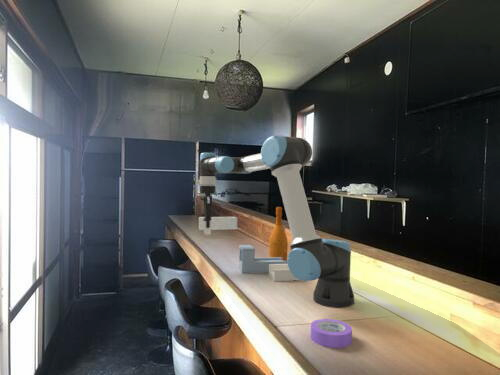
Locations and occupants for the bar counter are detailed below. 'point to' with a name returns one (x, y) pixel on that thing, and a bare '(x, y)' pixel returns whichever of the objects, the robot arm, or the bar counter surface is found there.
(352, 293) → the robot arm
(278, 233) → the wine bottle
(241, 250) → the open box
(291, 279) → the cradle
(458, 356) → the bar counter surface
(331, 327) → the masking tape
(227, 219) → the grey long rectangular block
